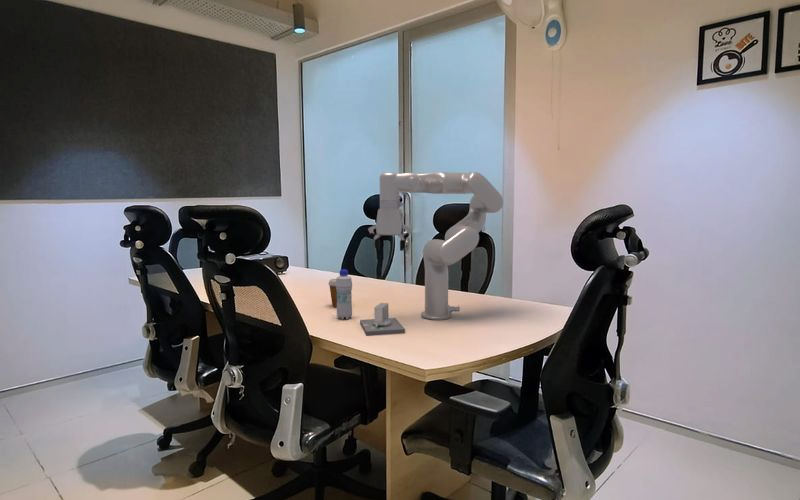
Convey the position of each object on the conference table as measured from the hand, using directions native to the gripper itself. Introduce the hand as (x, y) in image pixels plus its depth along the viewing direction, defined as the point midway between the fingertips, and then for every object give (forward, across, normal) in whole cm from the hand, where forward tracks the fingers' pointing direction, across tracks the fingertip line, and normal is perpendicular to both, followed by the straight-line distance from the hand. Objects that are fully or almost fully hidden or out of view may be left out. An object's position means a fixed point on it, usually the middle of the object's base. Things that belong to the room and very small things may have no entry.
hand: (389, 250), depth 185 cm
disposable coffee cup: (+28, +30, -20) cm, 46 cm away
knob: (+27, 0, +11) cm, 29 cm away
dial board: (+28, 0, +10) cm, 30 cm away
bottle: (+28, +20, -1) cm, 35 cm away
